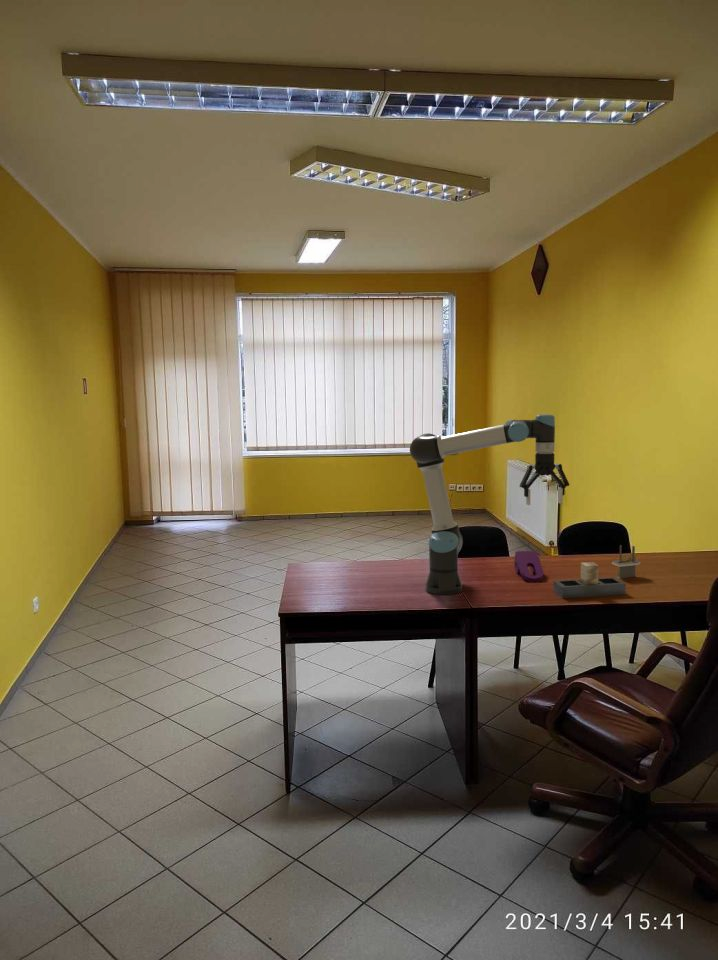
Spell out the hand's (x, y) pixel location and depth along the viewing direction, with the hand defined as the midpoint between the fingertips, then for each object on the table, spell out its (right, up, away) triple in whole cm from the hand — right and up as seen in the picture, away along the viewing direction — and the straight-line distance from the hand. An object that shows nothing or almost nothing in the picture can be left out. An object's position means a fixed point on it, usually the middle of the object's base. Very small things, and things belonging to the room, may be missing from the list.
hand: (544, 504), depth 272 cm
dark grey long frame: (+16, -36, -7) cm, 40 cm away
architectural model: (+39, -33, +14) cm, 53 cm away
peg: (+16, -36, -7) cm, 40 cm away
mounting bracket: (-1, -33, +19) cm, 38 cm away
